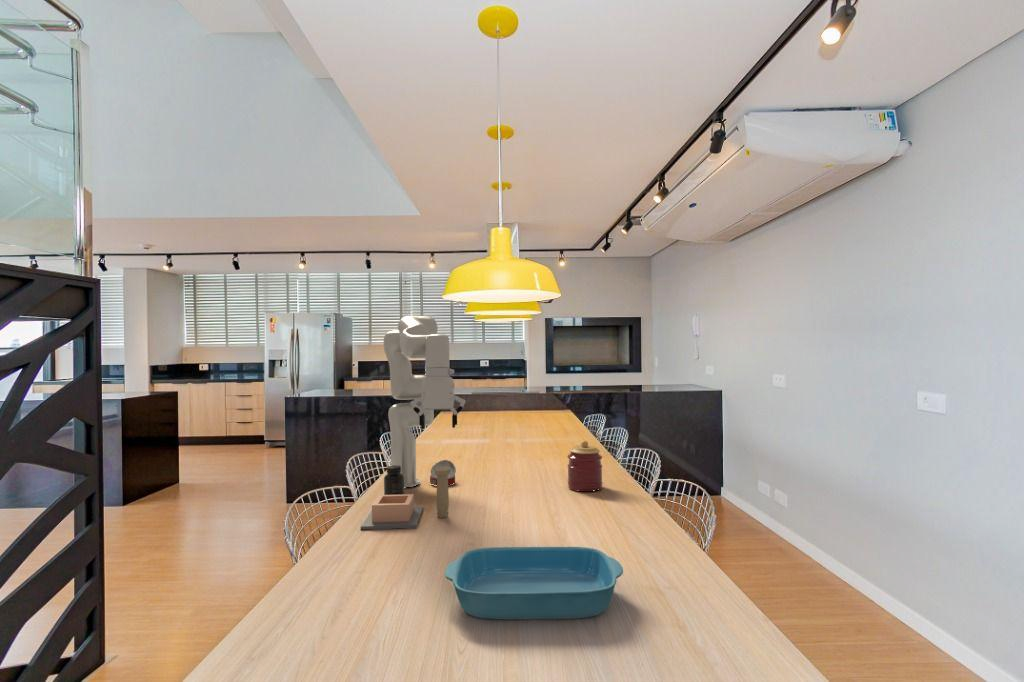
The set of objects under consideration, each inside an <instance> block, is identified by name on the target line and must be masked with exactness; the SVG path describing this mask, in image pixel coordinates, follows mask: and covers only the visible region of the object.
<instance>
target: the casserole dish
mask: <svg viewBox="0 0 1024 682" xmlns="http://www.w3.org/2000/svg"><path fill="white" fill-rule="evenodd" d="M623 573H624V569H623V566H622V564H621V563H620V562H619V561H618V560H617V559H615V558H614V557H611V556H608V555H607V554H606V553H605V552H603V551H601V550H599V549H596V548H591V547H585V546H503V547H502V546H496V547H495V546H494V547H481V548H475V549H474V548H473V549H470V550H468V551H466V552H464V553H463V554H462V555H461V556H460V557H459V558H457V559H455V560H452V561H451V562H450V563H448V565H447V566H446V568H445V571H444V577H445V578H446V579H447V580H449V581H451V582H452V584H453V587H454V590H455V593H456V596H457V599H458V601H459V604H460V606H461V608H462V610H464V611H465V612H466V613H467V614H468V615H470V616H472V617H475V618H478V619H487V620H489V619H490V620H558V619H559V620H560V619H561V620H563V619H565V620H566V618H567V619H569V618H572V619H586V618H591V617H595V616H598V615H599V614H602V613H603V612H604V611H606V610H607V608H608V607H609V605H610V603H611V600H612V598H613V594H614V591H615V588H616V587H615V586H616V583H617V579H619V578H620V577H621V576H622V575H623Z"/></svg>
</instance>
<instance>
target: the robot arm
mask: <svg viewBox="0 0 1024 682" xmlns="http://www.w3.org/2000/svg"><path fill="white" fill-rule="evenodd" d="M397 329H398V330H391V331H388V332H386V333H385V335H384V337H383V350H384V353H385V356H386V360H387V361H388V365H389V379H390V380H389V381H390V393H391V396H392V398H393V399H395V400H401V401H402V400H403V401H404V400H405V401H407V400H411V401H410V402H401V403H395V404H393V405H392V406H390V408H389V409H388V412H387V413H388V421H389V428H390V466H394V465H398V466H401V472H400V473H401V474H403V476H404V487H412V488H414V487H413V486H416V485H418V484H419V485H420V484H421V480H420V479H419V478H417V440H416V436H415V434H414V433H413V432H412V431H411V430H410V429H411V428H418V427H421V428H420V429H421V430H423V429H425V427H429V426H431V425H432V424H433V422H434V418H435V417H434V416H435V413H434V412H435V411H434V410H450V412H452V415H451V418H452V419H451V424H452V428H453V429H455V428H456V426H457V425H458V414H459V413H460V412H461V411H462V410H463V408H464V406H465V404H466V400H465V399H463V398H461V397H459V396H457V395H455V388H454V387H455V386H454V380H453V377H451V375H453V374H455V369H452V368H451V367H450V338H449V336H448V335H446V334H443V333H442V334H441V333H440V334H438V324H437V321H436V319H435V318H433V317H432V316H427V315H426V316H425V315H424V316H423V315H422V316H421V315H407V316H403V317H402V318H401V319H400V320H399V321H398V323H397ZM409 358H410V359H423V358H424V359H425V374H424V375H423V374H418V375H417V374H413V373H412V372H413V370H412V362H411V360H410V359H409ZM455 401H456V402H458V403H460V404H459V406H458V407H457V408H455V403H456V402H455ZM419 485H418V486H419ZM416 487H417V486H416Z"/></svg>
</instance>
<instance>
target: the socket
mask: <svg viewBox="0 0 1024 682" xmlns="http://www.w3.org/2000/svg"><path fill="white" fill-rule="evenodd" d="M422 510H423V511H424V506H415V494H414V493H408V494H406V493H404V494H403V495H384V494H378V496H377V497H376V498H375V500H374V502H373V503H372V504H371V510H370V512H369V514H368V515H367V517H366V518H365V519H364V521H363V522H362V524H361V526H360V530H361V529H377V530H395V529H394V528H411V529H417V527H418V525H419V522H420V518H421V516H422V514H423V511H422ZM421 513H422V514H421ZM418 521H419V522H418ZM417 524H418V525H417ZM392 528H393V529H392Z"/></svg>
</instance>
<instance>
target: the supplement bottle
mask: <svg viewBox="0 0 1024 682" xmlns="http://www.w3.org/2000/svg"><path fill="white" fill-rule="evenodd" d="M400 472H401V466H398V465H394V466H391V465H388V466H386V474H385V475H384V477H383V495H403V494H405V488H404V476H403V474H401V473H400Z"/></svg>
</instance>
